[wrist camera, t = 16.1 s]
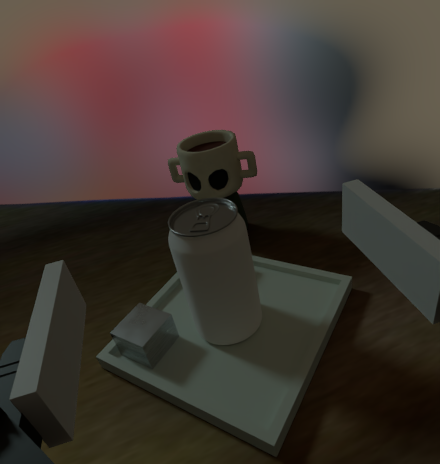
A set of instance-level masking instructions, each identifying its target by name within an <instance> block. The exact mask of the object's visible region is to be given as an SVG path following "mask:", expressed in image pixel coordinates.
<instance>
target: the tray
mask: <svg viewBox="0 0 440 464" xmlns="http://www.w3.org/2000/svg"><path fill="white" fill-rule="evenodd" d="M252 259H253V265H254V270H255V276H256V281H257V287H258V292H259V298H260V304H261V310H262V320H261V323H260V326H259V327H258V329H257V330H256V331H255V332H254V333H253V334H252V335H251V336H250V337H249V338H247V339H246V340H244V341H242V342H240V343H237V344H233V345H217V344H213V343H210V342H208V341H206V340H204V339H203V338H202V337H201V336H200V335H199V333H198V331H197V329H196V326H195V323H194V321H193V318H192V315H191V312H190V309H189V306H188V303H187V300H186V296H185V293H184V290H183V287H182V284H181V281H180V278H179V275H178V272H177V273H176V274H175V275H174V276H173V277H172V278H171V279H170V280H169V281H168V282H167V283H166V284H165V285H164V286H163V287H162V289H161V290H160V291H159V292H158V293H157V294H156V295H155V296H154V297H153V298H152V299H151V300H150V301H149V302H148V303H147V304H146V305H147V306H150V307H153V308H156V309H159V310H161V311H164V312H167V313H170V314H171V315H172V317H173V320H174V323H175V325H176V328H177V331H178V334H179V338H178V339H177V340H176V341H175V343H174V344H173V345H172V346H171V347H170V349H169V350H168V351H167V352H166V354H165V355H164V356H163V357H162V359H161V360H160V361H159V362H158V364H157V365H156V366H155V367H154V369H153V370H152V369H150V368H148V367H146V366H144V365H142V364H140V363H138V362H135V361H133V360H131V359H129V358H127V357H125V356H123V355H121V354H120V352H119V350H118V348H117V346H116V344H115V342H114V340H112V341H111V342H110V343H109V344H108V345H107V346H106V347H105V348H104V349H103V350H102V351H101V352H100V353H99V354H98V355H97V356H96V358H97V360H98V361H99V363H100V365H101V367H102V368H104V369H106V370H108V371H110V372H112V373H114V374H116V375H118V376H120V377H122V378H124V379H126V380H128V381H130V382H131V383H133V384H135V385H137V386H139V387H141V388H143V389H145V390H147V391H149V392H151V393H153V394H155V395H157V396H159V397H160V398H162V399H164V400H166V401H168V402H170V403H172V404H174V405H176V406H178V407H180V408H182V409H184V410H186V411H188V412H189V413H191V414H193V415H195V416H197V417H199V418H201V419H203V420H205V421H207V422H209V423H211V424H213V425H215V426H217V427H219V428H220V429H222V430H224V431H226V432H228V433H230V434H232V435H234V436H236V437H238V438H240V439H242V440H244V441H246V442H248V443H249V444H251V445H253V446H255V447H257V448H259V449H261V450H263V451H265V452H267V453H269V454H271V455H273V456H275V457H277V455H278V453H279V451H280V449H281V446H282V444H283V442H284V440H285V437H286V435H287V433H288V431H289V429H290V426H291V424H292V422H293V420H294V417H295V415H296V413H297V411H298V408H299V406H300V404H301V402H302V399H303V397H304V395H305V393H306V390H307V388H308V386H309V384H310V381H311V379H312V377H313V375H314V372H315V370H316V368H317V366H318V363H319V361H320V359H321V357H322V354H323V352H324V350H325V348H326V345H327V343H328V341H329V339H330V336H331V334H332V332H333V330H334V328H335V325H336V323H337V321H338V319H339V316H340V314H341V312H342V310H343V307H344V305H345V303H346V301H347V298H348V296H349V294H350V292H351V289H352V277H351V276H346V275H341V274H337V273H332V272H327V271H323V270H318V269H313V268H308V267H304V266H299V265H294V264H290V263H285V262H280V261H276V260H271V259H266V258H261V257H257V256H252Z"/></svg>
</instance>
